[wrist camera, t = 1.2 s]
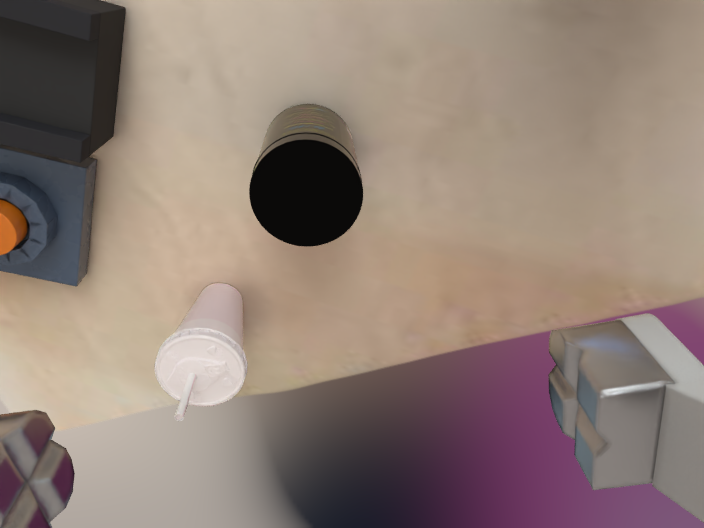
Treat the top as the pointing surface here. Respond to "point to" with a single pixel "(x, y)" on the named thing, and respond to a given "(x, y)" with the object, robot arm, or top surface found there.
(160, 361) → the smoothie
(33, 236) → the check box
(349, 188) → the supplement container
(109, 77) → the inspection stand
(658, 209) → the top surface
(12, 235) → the button
